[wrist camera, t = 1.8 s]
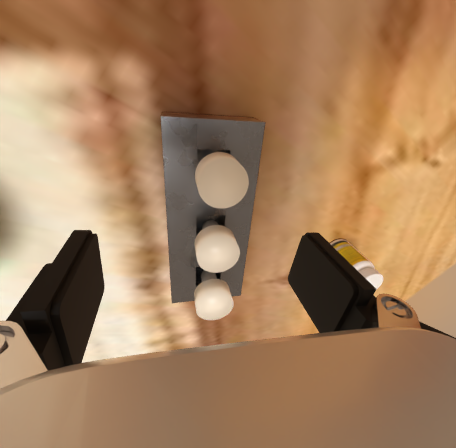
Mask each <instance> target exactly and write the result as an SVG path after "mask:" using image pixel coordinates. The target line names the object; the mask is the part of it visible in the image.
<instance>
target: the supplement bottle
mask: <svg viewBox="0 0 456 448" xmlns="http://www.w3.org/2000/svg"><path fill="white" fill-rule="evenodd" d="M330 244H331V245H332V246H333V247H334V248H335V249H336V250H337V251H338V252H339V253H340V254H341V255H342V256H343V257H344V258H345V259H346V260H347V261H348V262H349V263H350V264H351V265H352V266H353V267H354V268H355V269H356V270H357V271H358V272H359V273H361V274H362V275H363V276H364V277H365V278H366V279H367V280H368V281H369V282H370V283H371V284H372V285H373V286H374V287H375V288H376V289H378V288H379V287H380V285H381V284H382V282H383V276H382V275H381V274H380V273H379V272H378V271H377V270H376V269H374V265H373V264H372V262H371V261H369V260H368V259H367V258H366V257H365V256H364V255H363V254H361V253H360V252H359V251H358V250H357V249H356V248H355V247H353V246H352V245H351V244H350V243H349V242H348V241H346V240H344V239H338V240H335V241H333V242H331V243H330Z"/></svg>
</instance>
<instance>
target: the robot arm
mask: <svg viewBox="0 0 456 448" xmlns="http://www.w3.org/2000/svg"><path fill="white" fill-rule="evenodd" d="M288 281H289V284H290V285H291V287H292V289H293V290H294V292H295V294H296V295H297V297H298V298H299V300H300V302H301V303H302V305H303V307H304V308H305V310H306V311H307V313H308V315H309V316H310V318H311V320H312V321H313V323H314V324H315V326H316V328H317V329H318V331H319V333H317V334H308V335H299V336H290V337H281V338H272V339H264V340H255V341H246V342H238V343H229V344H221V345H212V346H204V347H196V348H187V349H179V350H171V351H163V352H154V353H147V354H139V355H132V356H125V357H118V358H110V359H103V360H97V361H91V362H85V363H81V362H82V359H83V356H84V353H85V350H86V347H87V343H88V340H89V337H90V334H91V331H92V327H93V324H94V321H95V318H96V315H97V312H98V308H99V305H100V302H101V299H102V296H103V292H104V279H103V272H102V265H101V258H100V250H99V243H98V237H97V234H92V231H91V230H74V231H73V232H72V234H71V235H70V237H69V238H68V240H67V241H66V243H65V244H64V246H63V247H62V249H61V250H60V252H59V254H58V255H57V257H56V258H55V260H54V261H53V263H49V264H46V265H45V266H44V267H43V268H42V270H41V271H40V272H39V274H38V275H37V277H36V278H35V280H34V281H33V282H32V284H31V285H30V287H29V288H28V290H27V291H26V293H25V294H24V295H23V297H22V298H21V300H20V301H19V303H18V304H17V305H16V307H15V308H14V310H13V311H12V313H11V314H10V316H9V317H8V318H7V320H6V321H0V448H456V338H454V337H452V336H450V335H448V334H445V333H443V332H441V331H439V330H437V329H434V328H432V327H430V326H428V325H426V324H423V323H421V322H419V320H418V316H417V314H416V312H415V311H414V309H413V308H412V307H411V306H410V305H409V304H407V303H406V302H405V301H403V300H401V299H400V298H398V297H395V296H393V295H389V294H379V295H378V296H377V297H375V296H374V295H373V294H374V292H375V291H376V288H375V287H374V286H373V285H372V284H371V283H370V282H369V281H368V280H367V279H366V278H365V277H364V276H363V275H362V274H361V273H359V272H358V271H357V270H356V269H355V268H354V267H353V266H352V265H351V264H350V263H349V262H348V261H347V260H346V259H345V258H344V257H343V256H342V255H341V254H340V253H339V252H338V251H337V250H336V249H335V248H334V247H333V246H332V245H331V244H330V243H329V242H328V241H326V240H325V239H324V238H323V237H322V236H321V235H320V234H319V233H306V234H305V235H304V236H302V238H301V241H300V243H299V246H298V249H297V252H296V255H295V258H294V261H293V264H292V267H291V270H290V273H289V276H288Z"/></svg>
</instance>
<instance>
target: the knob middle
mask: <svg viewBox="0 0 456 448" xmlns="http://www.w3.org/2000/svg"><path fill="white" fill-rule="evenodd" d="M194 244H195V251H196V257H197V262H198V264H199V266H200V267H201V268H202V269H204V270H205V271H208V272H212V273H218V272H223V271H226V270H228V269H230V268H231V267H233V266H234V265H235V264H236V262H237V261H238V259H239V256H240V249H239V246H238V244H237V242H236V239H235V237H234V235H233V233H232V231H231V230H230V229H229V228H227V227H225V226H222V225H218V223H217V222H216V221H214V220H208V221H206V222H205V223H204V224H203V226H202V230H201V231H200V232H199V233H198V235H197V236H196V238H195V243H194Z"/></svg>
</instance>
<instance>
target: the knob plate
mask: <svg viewBox="0 0 456 448" xmlns="http://www.w3.org/2000/svg"><path fill="white" fill-rule="evenodd" d="M264 128H265V122H263V121H261V120H258V119H256V118H253V117H238V116H222V115H206V114H190V113H173V112H162V113H161V129H162V145H163V162H164V179H165V196H166V212H167V229H168V246H169V263H170V279H171V296H172V303H177V302H186V301H195V297H194V292H195V289H196V287H197V286H198V285H199V284H200V283H202V279H201V273H202V272H203V271H204V269H202V268H201V267H200V266H199V264H198V262H197V257H196V251H195V244H194V243H195V238H196V236H197V235H198V233H199V232H200V231H201V230H202V226H203V224H204V223H205V222H206V221H208V220H214V221H216V222H217V223H218V225H222V226H225V227H227V228H229V229H230V230H231V231H232V233H233V235H234V237H235V239H236V242H237V244H238V246H239V249H240V256H239V259H238V261H237V262H236V264H235V265H234V266H233V267H231V268H230V269H228V270H226V271H223V272H218V273H216V277H217V279H220V280H223V281H225V282H226V283H227V284H228V286H229V289H230V293H231V296H239V295H241V289H242V282H243V275H244V268H245V261H246V254H247V247H248V240H249V233H250V226H251V219H252V212H253V205H254V198H255V191H256V184H257V177H258V170H259V163H260V156H261V149H262V142H263V135H264ZM214 152H225V153H228V154H230V155H232V156H233V157H234V158H235V159H236V160H237V161H238V162H239V163H240V164H241V165H242V166H243V167H244V169H245V170H246V172H247V175H248V179H249V185H248V190H247V192H246V194H245V196H244V197H243V199H242V200H241V201H240V202H238V203H237V204H236V205H234V206H232V207H229V208H214V207H212V206H209V205H208V204H206V203H205V202H204V201H203V200H202V198H201V196H200V194H199V192H198V188H197V184H196V181H195V171H196V168H197V166H198V164H199V162H200V161H201V160H202V159H203V158H204V157H205V156H207V155H209V154H211V153H214Z"/></svg>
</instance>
